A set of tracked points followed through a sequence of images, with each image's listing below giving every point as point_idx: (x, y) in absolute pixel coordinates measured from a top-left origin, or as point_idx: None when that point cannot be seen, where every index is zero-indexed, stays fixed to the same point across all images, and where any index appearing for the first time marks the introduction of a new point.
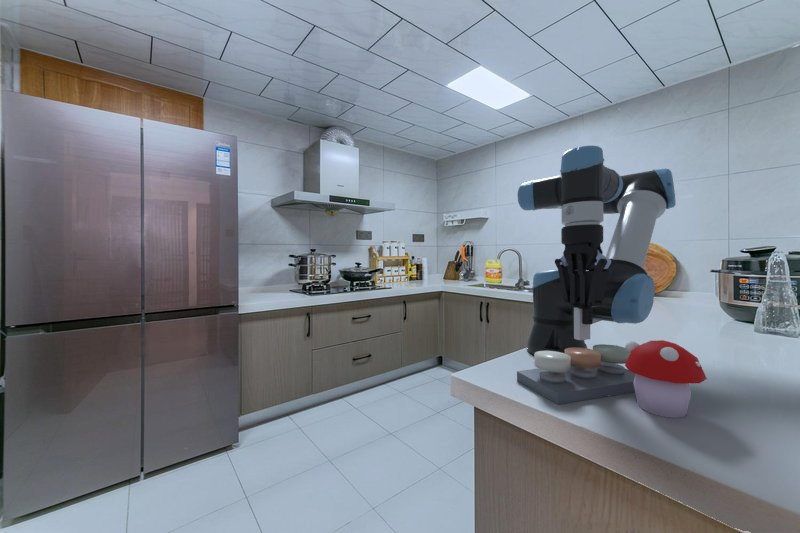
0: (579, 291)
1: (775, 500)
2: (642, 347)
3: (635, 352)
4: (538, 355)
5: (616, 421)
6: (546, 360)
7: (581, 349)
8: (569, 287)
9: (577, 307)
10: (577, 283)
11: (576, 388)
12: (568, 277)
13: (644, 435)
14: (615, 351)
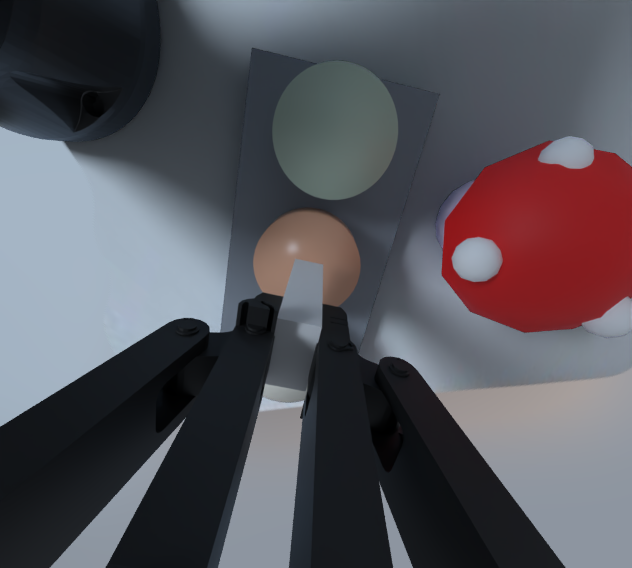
0: (250, 430)
1: (626, 369)
2: (531, 312)
3: (501, 312)
4: (268, 392)
5: (440, 342)
6: (302, 398)
7: (286, 243)
8: (134, 444)
9: (272, 367)
10: (228, 520)
11: (355, 334)
12: (21, 547)
13: (486, 349)
14: (365, 163)
